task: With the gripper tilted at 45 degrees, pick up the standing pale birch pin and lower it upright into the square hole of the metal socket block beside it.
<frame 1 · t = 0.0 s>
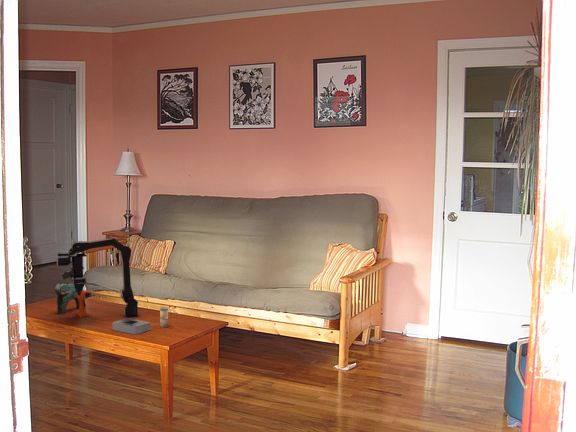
hand: (77, 293, 326), 15 cm above the table, tool pointing down, fingers open, 9 cm apart
socket block: (131, 330, 310), on the table
toy drill: (86, 317, 336), on the table
green power drill: (70, 311, 349), on the table
pin: (164, 326, 317), on the table
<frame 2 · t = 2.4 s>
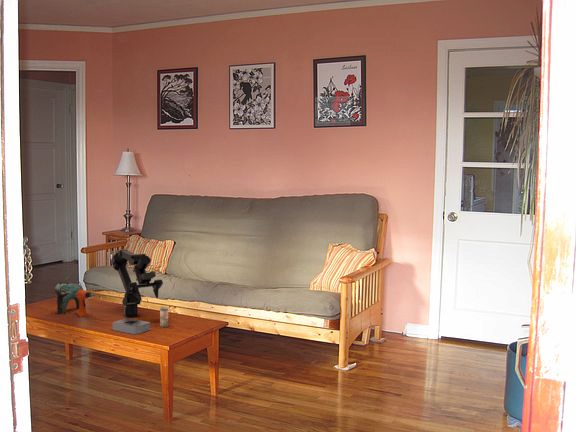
hand: (149, 299, 320), 14 cm above the table, tool tilted 40°, fingers open, 9 cm apart
nothing on the table moved.
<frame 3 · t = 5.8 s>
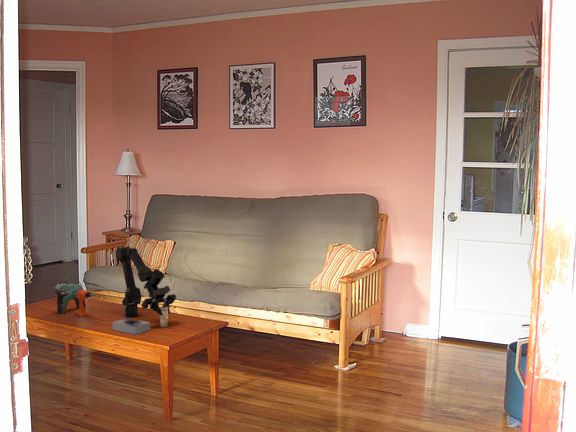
hand: (165, 314, 316), 7 cm above the table, tool tilted 45°, fingers closed on pin, 4 cm apart
pin: (164, 326, 317), on the table, touching gripper
everything else where it was.
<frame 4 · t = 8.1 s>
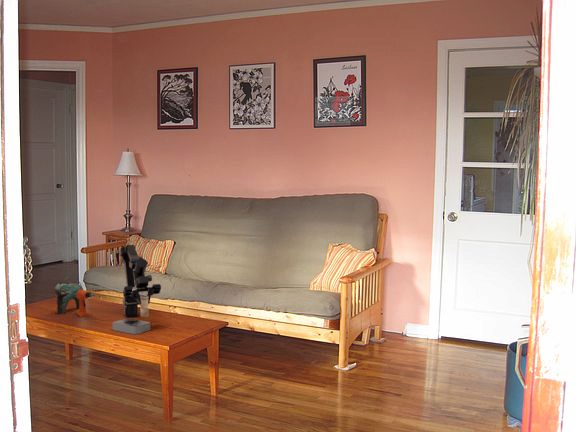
hand: (144, 303, 309), 14 cm above the table, tool tilted 45°, fingers closed on pin, 4 cm apart
pin: (144, 315, 311), point 7 cm above the table, touching gripper
everything else where it was.
when the fingers open (8 cm above the table, at t = 10.5 s): pin stays where it is, resting in socket block.
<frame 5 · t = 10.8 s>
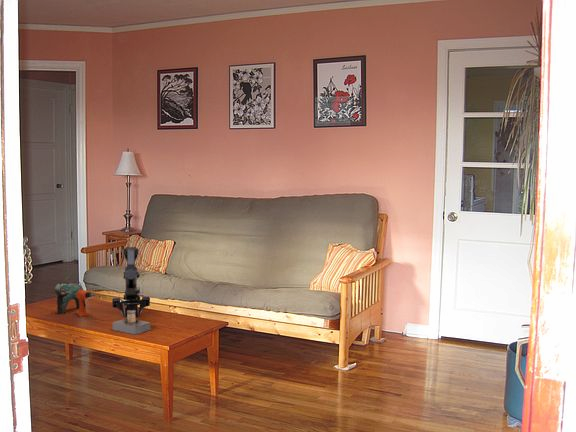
hand: (131, 316, 308), 8 cm above the table, tool tilted 45°, fingers open, 7 cm apart
pin: (131, 330, 310), resting in socket block
everything else where it was.
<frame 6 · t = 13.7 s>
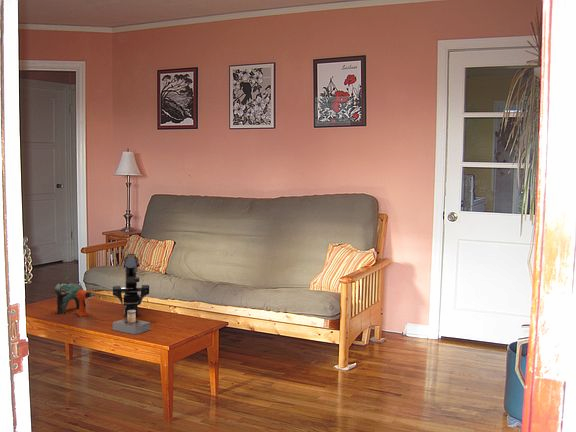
hand: (131, 303, 316), 12 cm above the table, tool tilted 45°, fingers open, 9 cm apart
nothing on the table moved.
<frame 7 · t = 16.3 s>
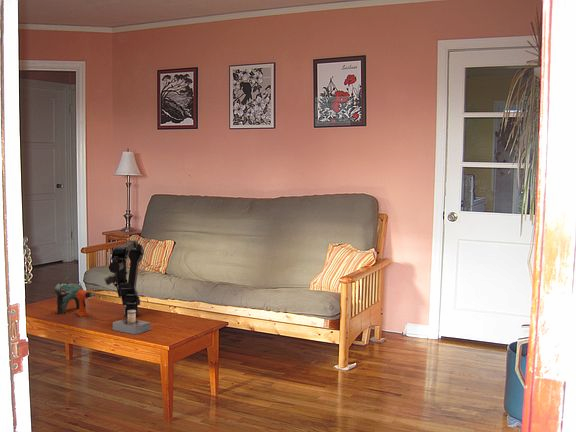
hand: (121, 298, 323), 13 cm above the table, tool pointing down, fingers open, 9 cm apart
nothing on the table moved.
at the end: pin 0.0 cm off-centre on the socket block, point 0.0 cm above the socket block's base; pin tilted 1°; the gripper is holding nothing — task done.
